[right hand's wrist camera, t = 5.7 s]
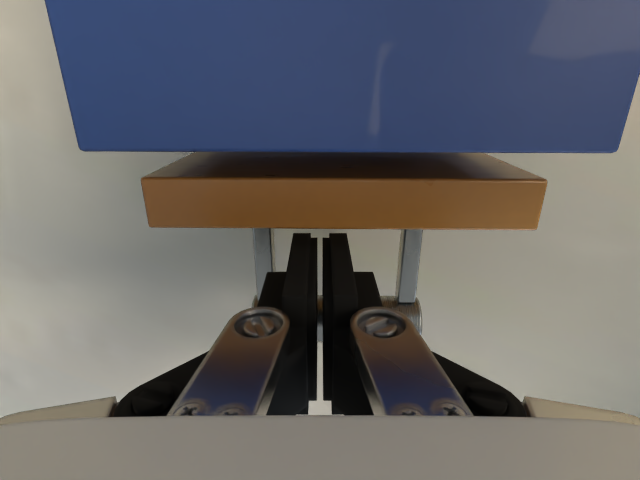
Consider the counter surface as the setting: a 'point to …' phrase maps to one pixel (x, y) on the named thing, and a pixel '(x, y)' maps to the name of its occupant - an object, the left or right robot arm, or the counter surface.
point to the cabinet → (348, 74)
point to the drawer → (344, 200)
